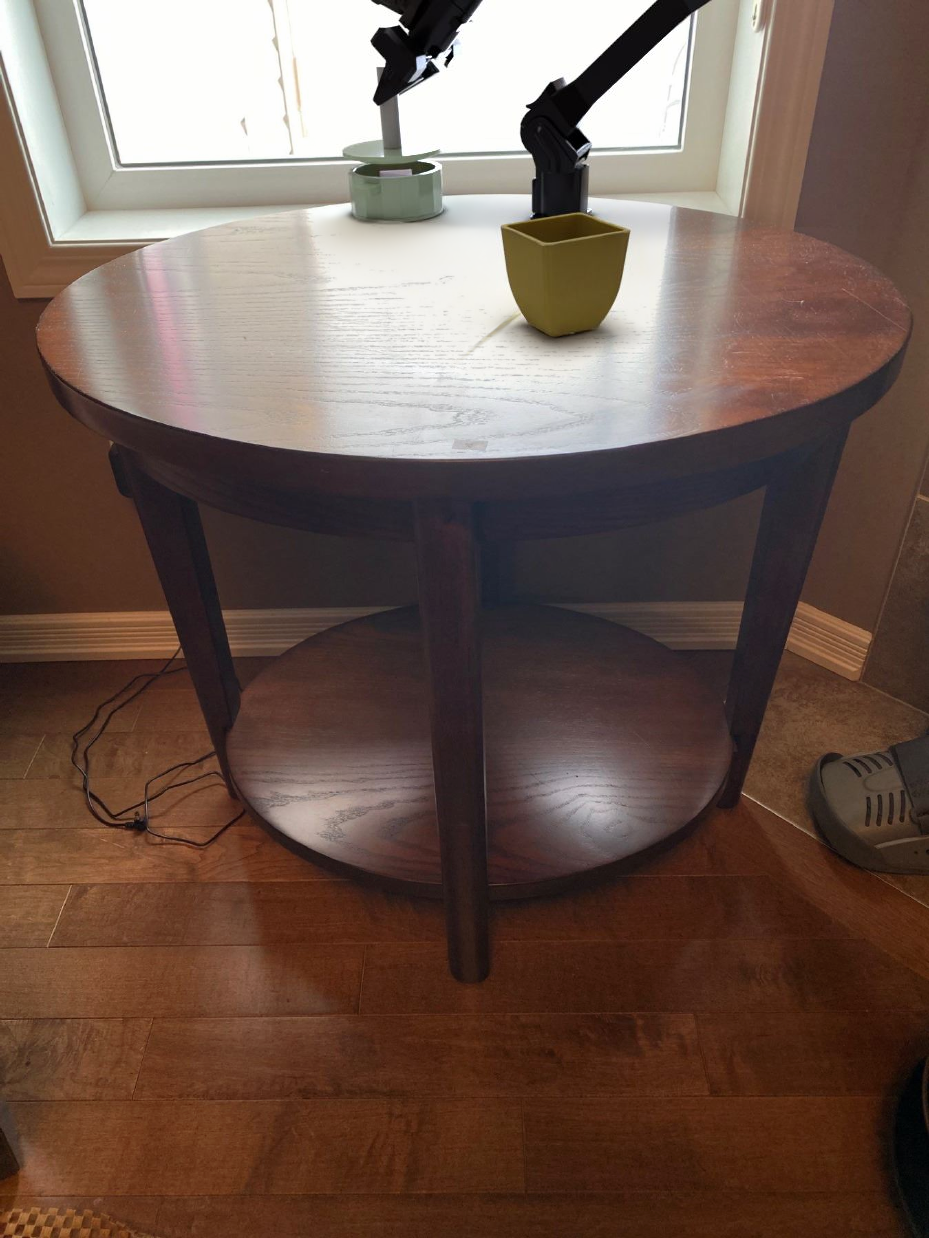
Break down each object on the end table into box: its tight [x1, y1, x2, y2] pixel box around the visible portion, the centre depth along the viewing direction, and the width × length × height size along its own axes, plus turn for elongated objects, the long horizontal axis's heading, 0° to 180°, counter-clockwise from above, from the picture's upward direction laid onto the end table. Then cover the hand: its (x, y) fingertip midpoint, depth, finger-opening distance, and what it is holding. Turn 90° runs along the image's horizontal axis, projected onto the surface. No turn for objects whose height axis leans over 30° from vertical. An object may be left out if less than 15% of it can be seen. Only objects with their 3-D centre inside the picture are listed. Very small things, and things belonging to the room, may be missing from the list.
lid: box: [341, 64, 445, 164], centre depth 119 cm, size 14×14×11 cm
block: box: [380, 169, 412, 177], centre depth 125 cm, size 4×4×4 cm
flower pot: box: [500, 213, 631, 338], centre depth 84 cm, size 9×9×9 cm
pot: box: [347, 159, 445, 223], centre depth 125 cm, size 13×18×6 cm
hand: (379, 101), depth 119 cm, fingers closed on lid, 2 cm apart
